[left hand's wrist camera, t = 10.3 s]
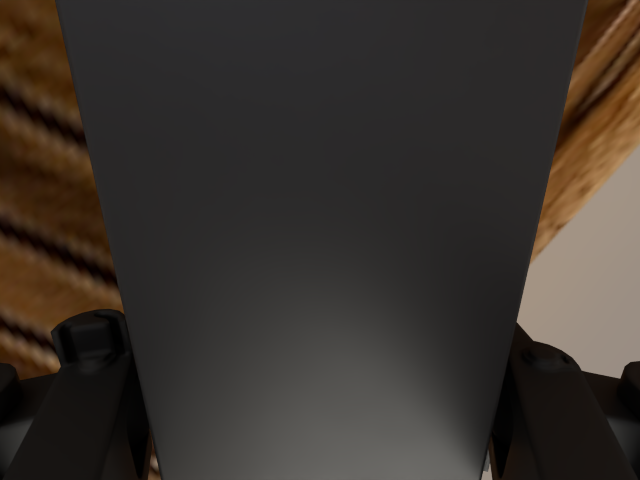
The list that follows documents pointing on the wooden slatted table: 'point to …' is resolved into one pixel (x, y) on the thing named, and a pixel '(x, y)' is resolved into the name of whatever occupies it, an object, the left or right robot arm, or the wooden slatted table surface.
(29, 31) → the wooden slatted table surface
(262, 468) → the bar
